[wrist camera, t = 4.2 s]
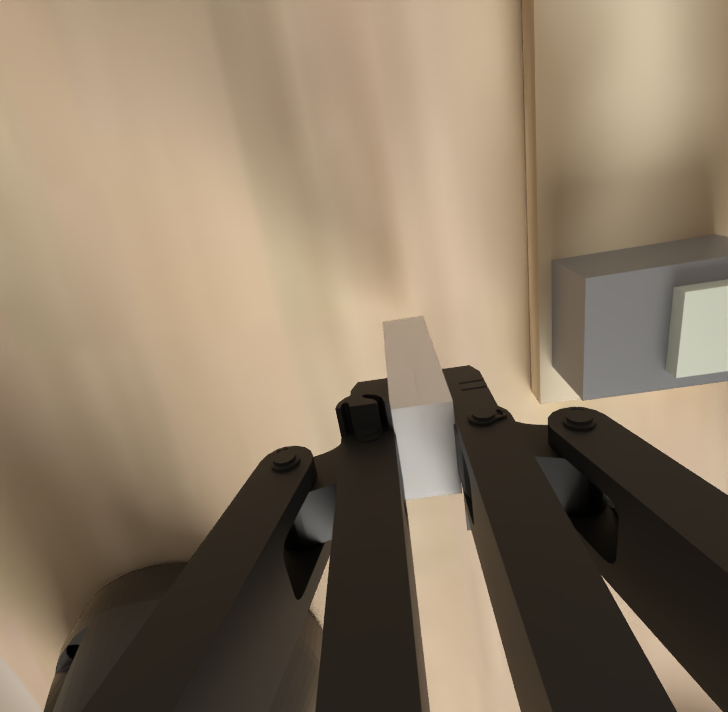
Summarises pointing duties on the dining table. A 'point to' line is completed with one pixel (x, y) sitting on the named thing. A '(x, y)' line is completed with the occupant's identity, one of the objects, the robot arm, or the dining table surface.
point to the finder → (642, 317)
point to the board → (619, 137)
